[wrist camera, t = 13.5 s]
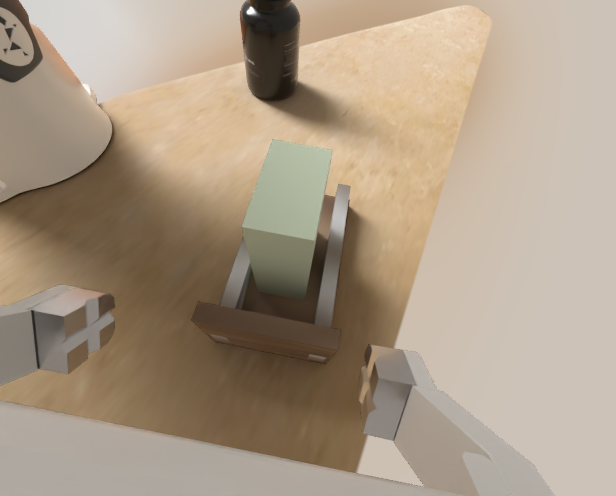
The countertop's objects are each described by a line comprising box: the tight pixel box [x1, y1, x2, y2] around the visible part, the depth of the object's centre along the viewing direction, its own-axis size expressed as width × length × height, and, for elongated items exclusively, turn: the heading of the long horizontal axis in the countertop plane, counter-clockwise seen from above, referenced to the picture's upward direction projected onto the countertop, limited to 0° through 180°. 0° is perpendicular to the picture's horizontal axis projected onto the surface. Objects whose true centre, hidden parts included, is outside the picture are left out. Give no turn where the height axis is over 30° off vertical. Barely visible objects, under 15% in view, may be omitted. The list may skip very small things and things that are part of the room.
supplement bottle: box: [240, 0, 300, 100], centre depth 34 cm, size 7×7×12 cm
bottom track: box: [191, 184, 350, 364], centre depth 24 cm, size 16×9×6 cm, turn 170°
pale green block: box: [241, 139, 333, 301], centre depth 21 cm, size 7×4×10 cm, turn 170°
